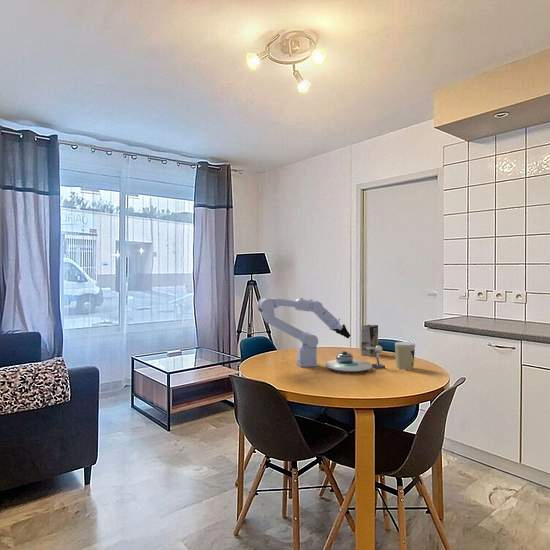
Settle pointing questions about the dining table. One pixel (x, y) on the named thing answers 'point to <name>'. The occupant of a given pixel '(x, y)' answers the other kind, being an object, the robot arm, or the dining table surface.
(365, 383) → the dining table surface
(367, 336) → the coffee box
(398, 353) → the coffee cup
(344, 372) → the turntable base
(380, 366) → the dial gauge
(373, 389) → the dining table surface
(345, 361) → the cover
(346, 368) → the platter
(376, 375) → the dining table surface
